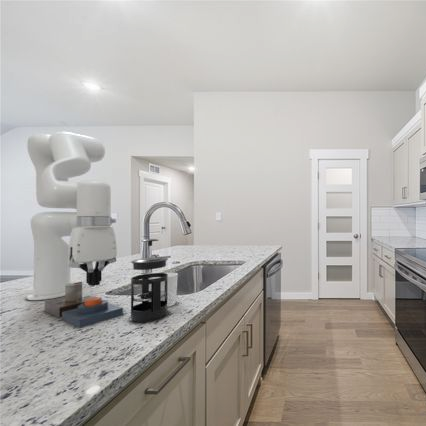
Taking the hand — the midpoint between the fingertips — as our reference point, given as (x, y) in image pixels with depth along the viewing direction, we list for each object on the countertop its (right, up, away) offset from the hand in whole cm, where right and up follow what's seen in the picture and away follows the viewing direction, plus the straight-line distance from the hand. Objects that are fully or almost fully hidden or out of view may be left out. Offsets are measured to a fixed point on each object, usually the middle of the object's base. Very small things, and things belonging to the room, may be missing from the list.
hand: (93, 284), depth 74 cm
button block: (0, -10, 0) cm, 10 cm away
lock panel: (-13, -10, +7) cm, 17 cm away
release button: (0, -6, 0) cm, 6 cm away
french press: (+17, -10, 0) cm, 19 cm away
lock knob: (-13, -7, +7) cm, 16 cm away
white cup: (+14, -10, +10) cm, 20 cm away
